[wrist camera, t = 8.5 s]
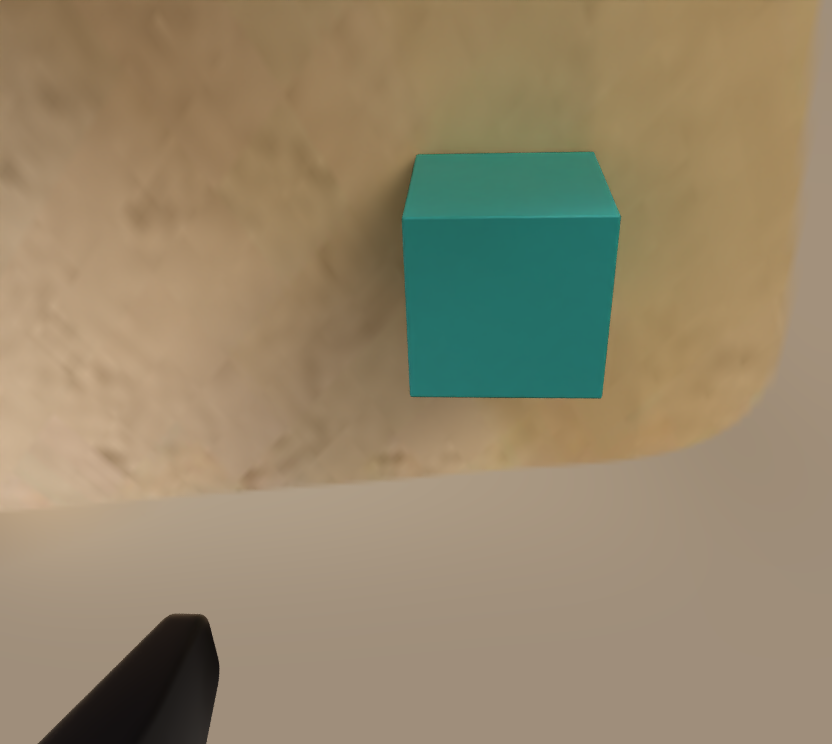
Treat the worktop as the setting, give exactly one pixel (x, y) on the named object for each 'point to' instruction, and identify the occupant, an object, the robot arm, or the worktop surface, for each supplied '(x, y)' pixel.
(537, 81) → the worktop surface
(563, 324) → the teal block
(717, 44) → the worktop surface
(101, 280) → the worktop surface
